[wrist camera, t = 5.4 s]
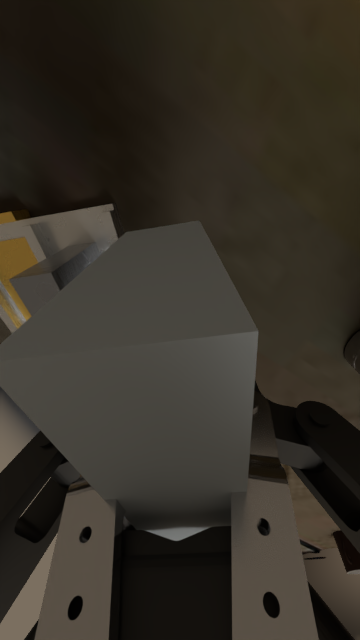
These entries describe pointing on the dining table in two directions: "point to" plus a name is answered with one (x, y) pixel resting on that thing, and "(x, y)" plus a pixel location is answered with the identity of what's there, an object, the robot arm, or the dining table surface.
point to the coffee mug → (348, 553)
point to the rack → (48, 255)
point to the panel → (145, 379)
